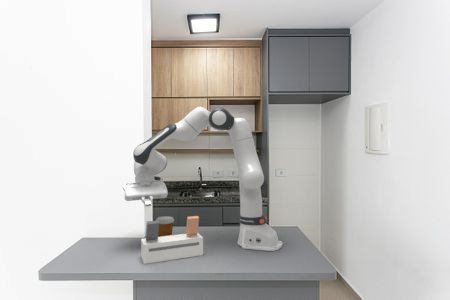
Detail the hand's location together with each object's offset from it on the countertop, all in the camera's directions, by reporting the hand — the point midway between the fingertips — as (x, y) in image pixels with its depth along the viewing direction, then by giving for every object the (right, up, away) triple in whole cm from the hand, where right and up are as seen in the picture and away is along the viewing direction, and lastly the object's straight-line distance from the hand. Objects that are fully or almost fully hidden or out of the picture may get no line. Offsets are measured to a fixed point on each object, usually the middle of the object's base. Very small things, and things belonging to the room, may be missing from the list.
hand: (148, 205), depth 140 cm
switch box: (+13, -21, -6) cm, 26 cm away
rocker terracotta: (+21, -12, -3) cm, 24 cm away
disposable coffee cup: (+5, -22, +16) cm, 27 cm away
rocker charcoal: (+4, -12, -10) cm, 17 cm away
